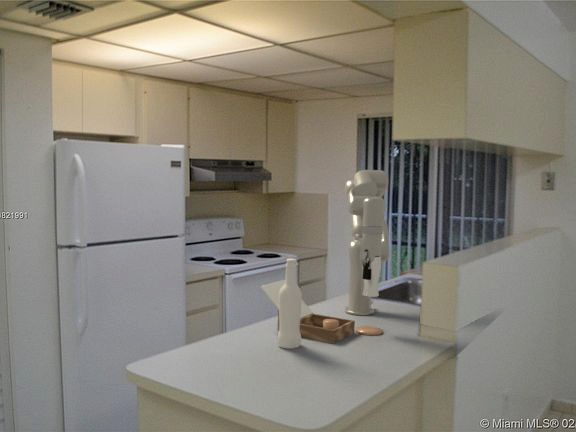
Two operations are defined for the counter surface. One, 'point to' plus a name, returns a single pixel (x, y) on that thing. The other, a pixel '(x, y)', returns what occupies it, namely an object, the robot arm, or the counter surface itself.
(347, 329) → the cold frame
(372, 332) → the orange dish
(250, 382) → the counter surface
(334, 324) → the peach rounded cylinder
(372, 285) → the beer glass
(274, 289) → the propped lid
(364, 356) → the counter surface
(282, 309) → the bottle
